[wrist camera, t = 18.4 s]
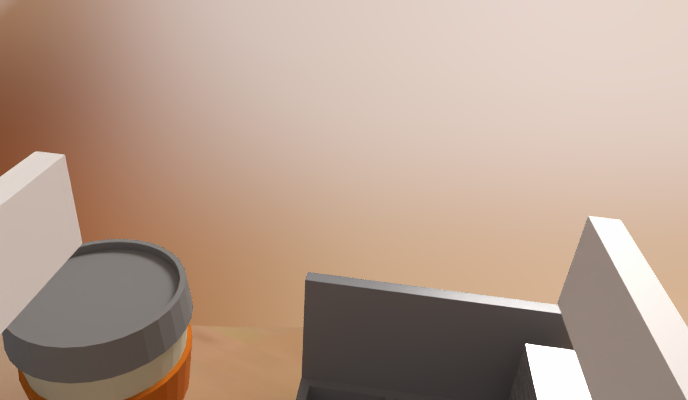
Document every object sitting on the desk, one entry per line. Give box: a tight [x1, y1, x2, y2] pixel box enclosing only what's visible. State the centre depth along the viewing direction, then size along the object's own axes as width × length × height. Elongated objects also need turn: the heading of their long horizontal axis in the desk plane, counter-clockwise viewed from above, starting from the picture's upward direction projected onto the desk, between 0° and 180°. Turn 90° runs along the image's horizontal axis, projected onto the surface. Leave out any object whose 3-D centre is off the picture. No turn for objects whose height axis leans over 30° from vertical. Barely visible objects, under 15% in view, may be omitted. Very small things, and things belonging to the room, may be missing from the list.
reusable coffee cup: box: [2, 239, 193, 400], centre depth 42 cm, size 13×12×15 cm
